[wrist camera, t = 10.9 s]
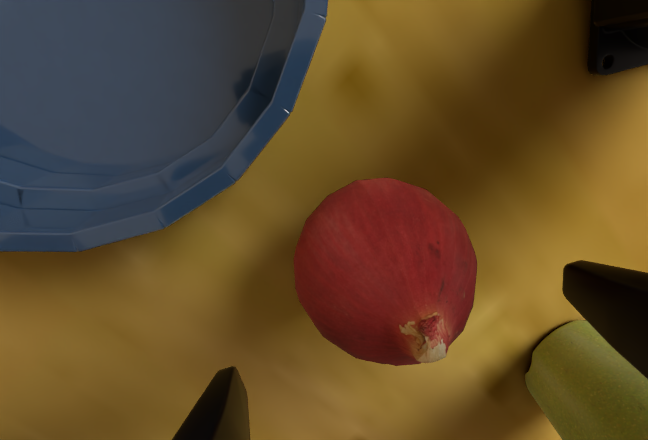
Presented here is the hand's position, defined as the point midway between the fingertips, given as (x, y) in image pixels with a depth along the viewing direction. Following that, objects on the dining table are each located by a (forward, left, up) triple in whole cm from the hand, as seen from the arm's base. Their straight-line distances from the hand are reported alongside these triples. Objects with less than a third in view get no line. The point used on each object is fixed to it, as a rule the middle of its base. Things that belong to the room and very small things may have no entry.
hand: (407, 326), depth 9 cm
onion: (0, 0, -7) cm, 7 cm away
